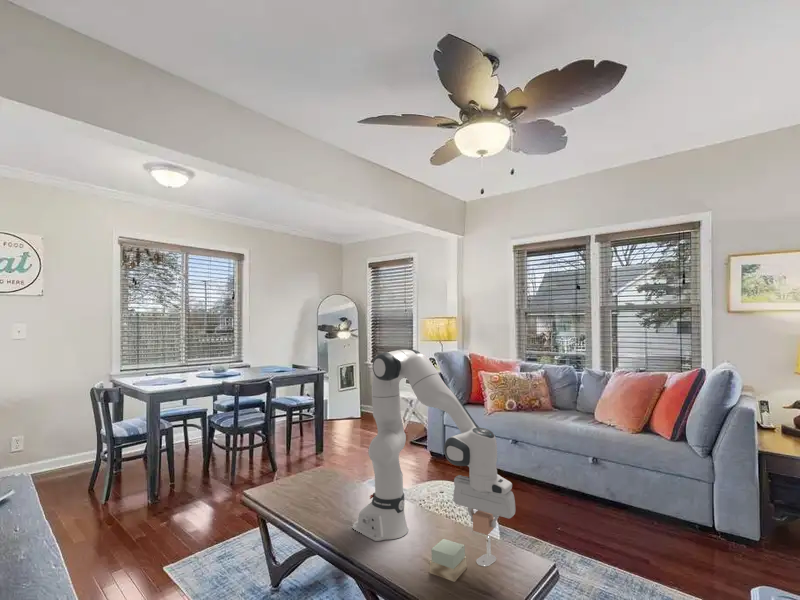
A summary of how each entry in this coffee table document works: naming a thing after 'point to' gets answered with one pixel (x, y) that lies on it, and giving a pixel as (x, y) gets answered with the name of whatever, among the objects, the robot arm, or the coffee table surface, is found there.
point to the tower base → (448, 570)
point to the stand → (486, 555)
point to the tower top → (448, 553)
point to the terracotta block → (482, 522)
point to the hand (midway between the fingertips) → (483, 524)
